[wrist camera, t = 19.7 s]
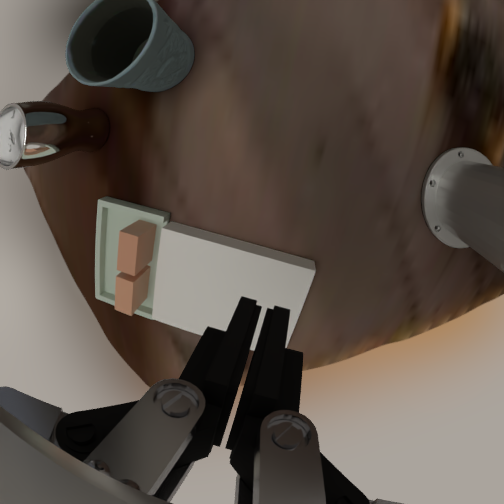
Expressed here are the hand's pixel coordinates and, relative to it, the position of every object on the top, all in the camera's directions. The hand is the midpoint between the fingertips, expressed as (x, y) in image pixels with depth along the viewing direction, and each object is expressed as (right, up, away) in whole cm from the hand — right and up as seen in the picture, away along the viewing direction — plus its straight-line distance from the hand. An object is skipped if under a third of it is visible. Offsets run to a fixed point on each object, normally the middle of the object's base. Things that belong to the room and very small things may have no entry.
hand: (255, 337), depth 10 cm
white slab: (-3, -2, +28) cm, 28 cm away
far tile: (-14, -2, +27) cm, 30 cm away
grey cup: (-11, +26, +19) cm, 34 cm away
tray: (-17, +2, +29) cm, 33 cm away
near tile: (-13, +3, +25) cm, 28 cm away
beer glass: (-21, +19, +23) cm, 37 cm away
